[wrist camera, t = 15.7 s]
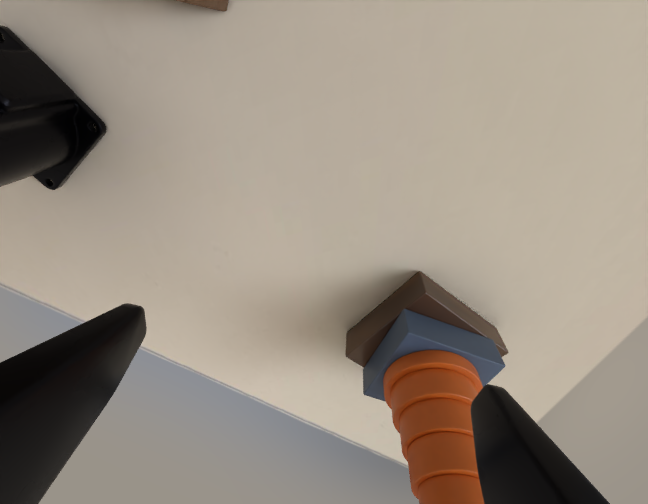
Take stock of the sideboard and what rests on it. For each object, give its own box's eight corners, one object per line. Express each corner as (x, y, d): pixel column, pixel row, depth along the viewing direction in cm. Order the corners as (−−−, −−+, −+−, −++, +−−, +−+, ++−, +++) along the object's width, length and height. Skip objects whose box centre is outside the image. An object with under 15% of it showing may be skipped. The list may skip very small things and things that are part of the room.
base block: (418, 378, 28) (422, 403, 26) (346, 332, 26) (344, 356, 24) (496, 327, 24) (509, 353, 22) (419, 270, 22) (425, 291, 20)
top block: (441, 394, 25) (448, 421, 23) (362, 368, 24) (363, 394, 22) (493, 339, 21) (506, 366, 20) (403, 307, 21) (408, 332, 19)
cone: (394, 413, 23) (425, 711, 13) (372, 358, 20) (387, 680, 10) (483, 403, 22) (601, 731, 11) (472, 341, 19) (615, 701, 8)
